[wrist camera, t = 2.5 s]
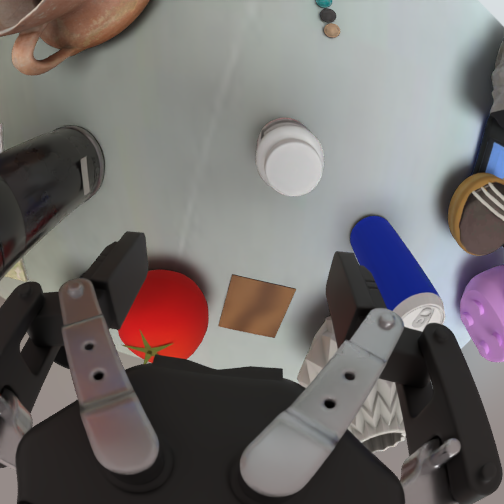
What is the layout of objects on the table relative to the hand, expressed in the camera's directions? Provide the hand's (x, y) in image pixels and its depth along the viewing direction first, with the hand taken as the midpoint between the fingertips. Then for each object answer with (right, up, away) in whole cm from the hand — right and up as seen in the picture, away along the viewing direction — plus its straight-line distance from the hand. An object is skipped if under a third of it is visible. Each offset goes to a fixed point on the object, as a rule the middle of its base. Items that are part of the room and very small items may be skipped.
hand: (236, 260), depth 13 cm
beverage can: (+14, +3, +21) cm, 25 cm away
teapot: (+31, -11, +19) cm, 38 cm away
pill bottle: (+4, +11, +16) cm, 20 cm away
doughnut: (+24, +1, +16) cm, 29 cm away
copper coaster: (+1, -7, +27) cm, 28 cm away
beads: (+7, +24, +8) cm, 26 cm away
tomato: (-10, -4, +26) cm, 28 cm away
